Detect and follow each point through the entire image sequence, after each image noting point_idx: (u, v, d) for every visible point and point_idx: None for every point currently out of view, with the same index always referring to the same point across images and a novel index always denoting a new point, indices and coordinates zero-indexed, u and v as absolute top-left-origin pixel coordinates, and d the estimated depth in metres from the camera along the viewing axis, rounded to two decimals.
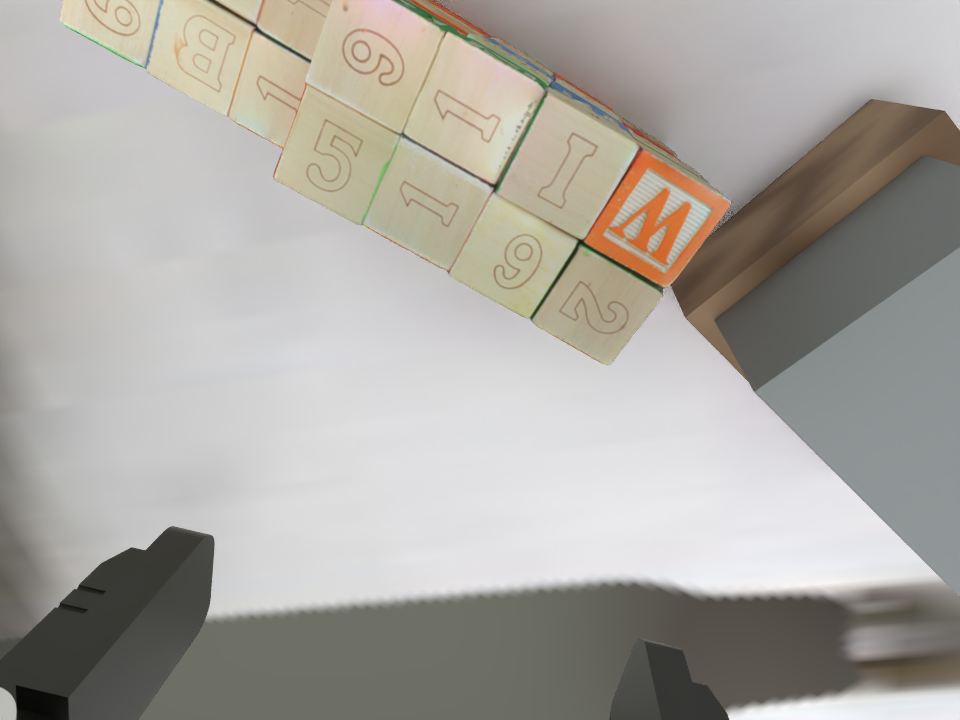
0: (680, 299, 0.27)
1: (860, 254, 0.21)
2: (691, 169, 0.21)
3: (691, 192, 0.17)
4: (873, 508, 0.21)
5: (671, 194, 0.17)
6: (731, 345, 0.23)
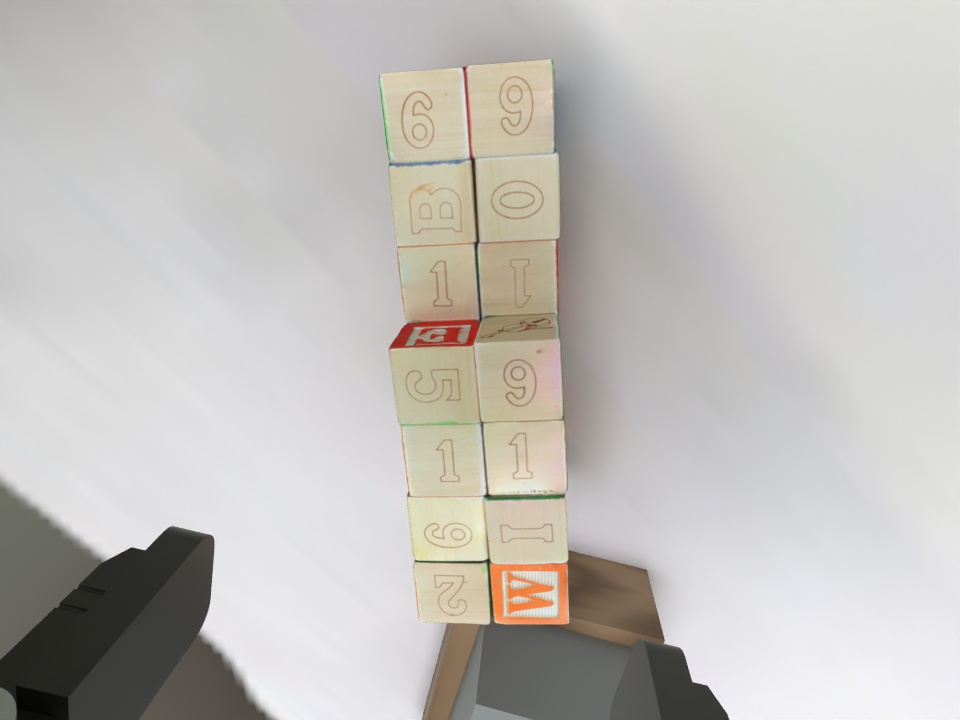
0: None
1: (584, 678, 0.30)
2: None
3: (559, 601, 0.25)
4: None
5: (552, 591, 0.24)
6: (484, 645, 0.30)
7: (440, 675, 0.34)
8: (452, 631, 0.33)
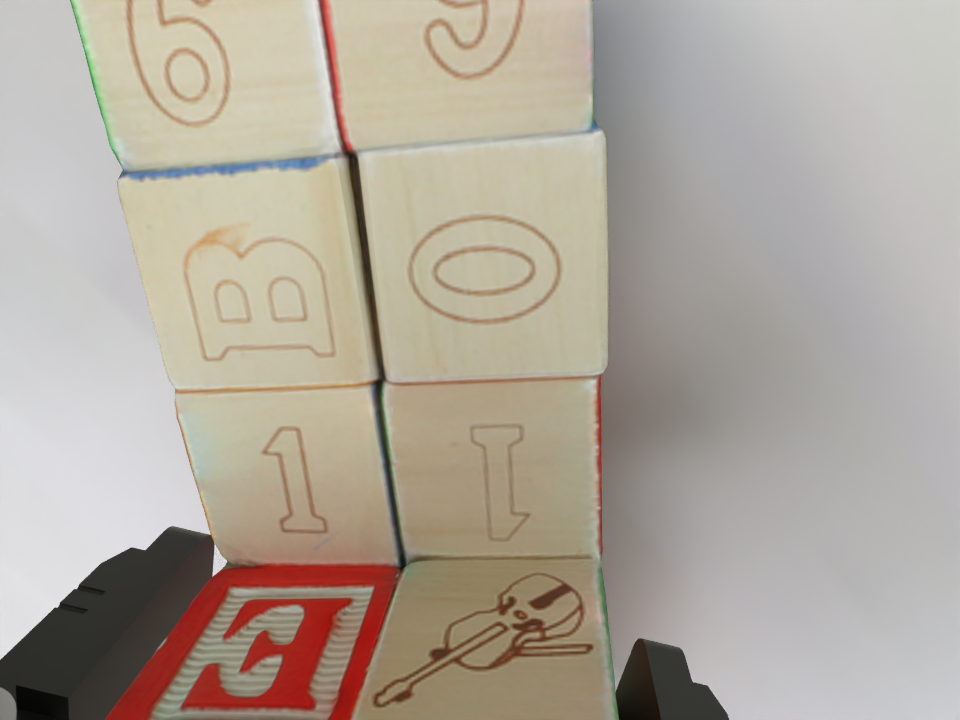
0: None
1: None
2: None
3: None
4: None
5: None
6: None
7: None
8: None
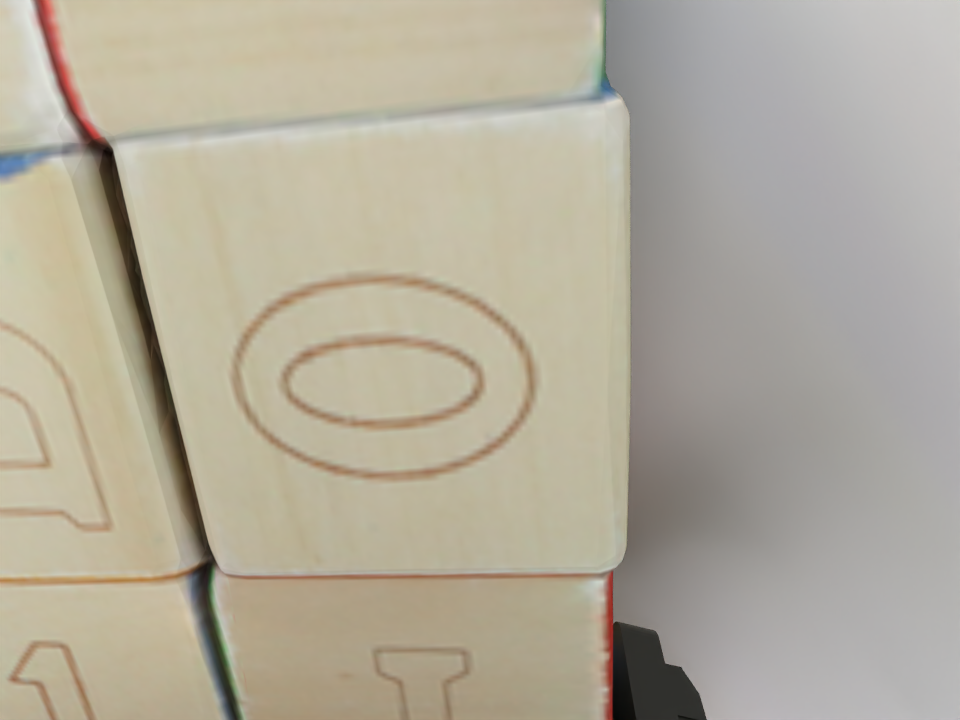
0: None
1: None
2: None
3: None
4: None
5: None
6: None
7: None
8: None
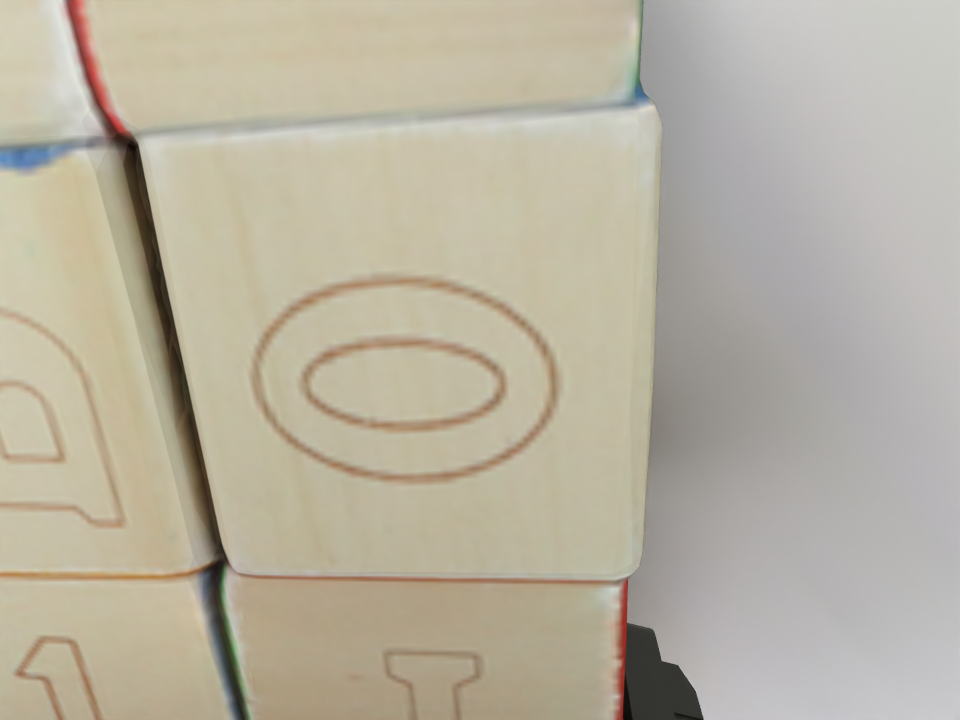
0: None
1: None
2: None
3: None
4: None
5: None
6: None
7: None
8: None
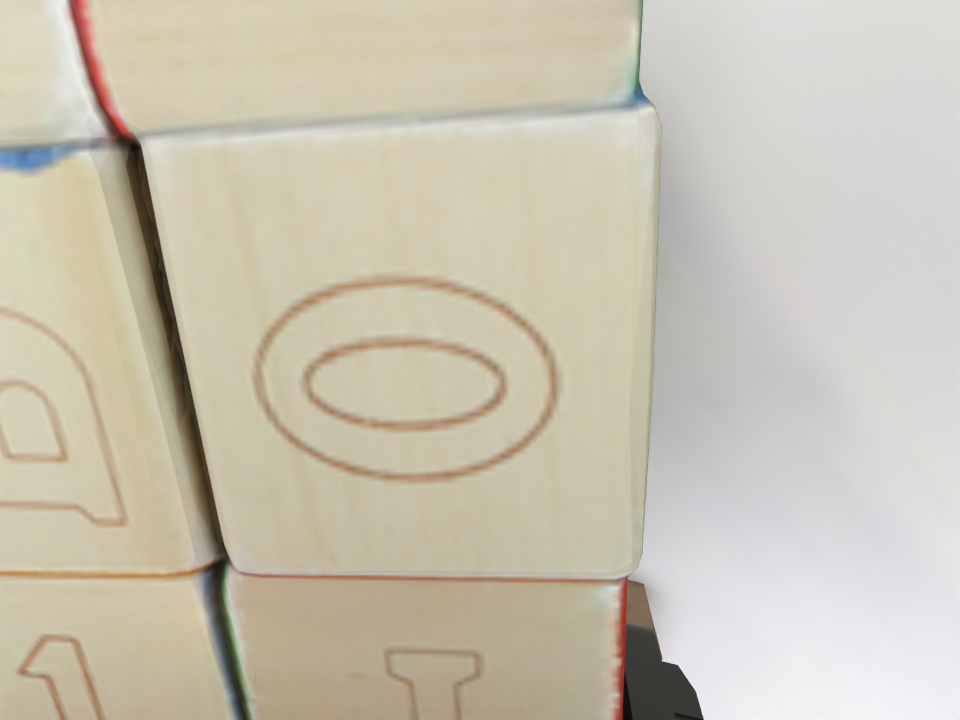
0: None
1: None
2: None
3: None
4: None
5: None
6: None
7: None
8: None
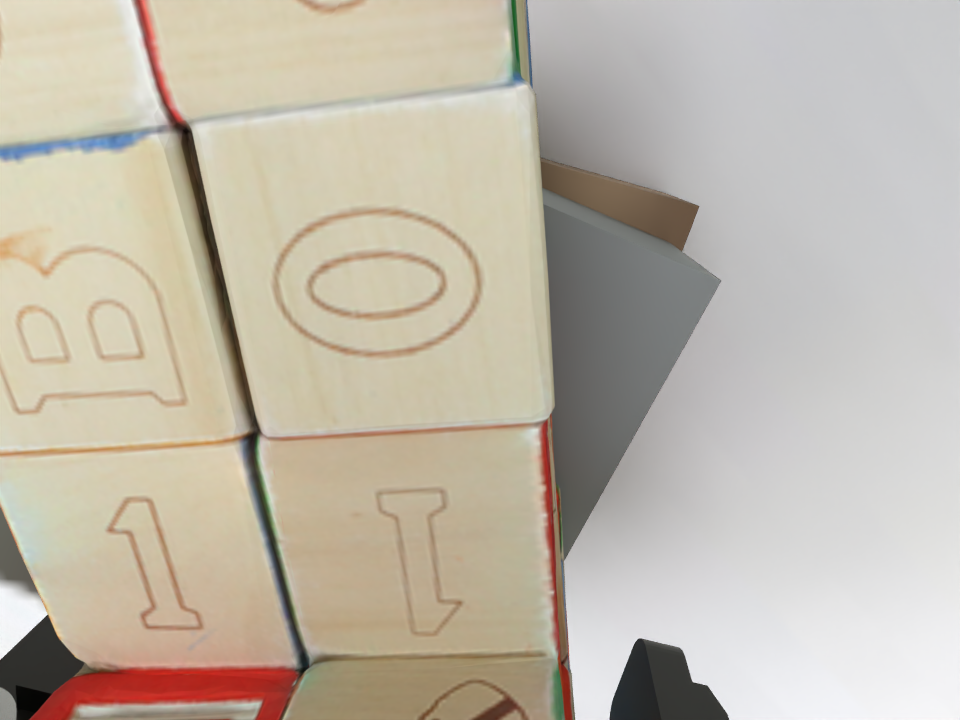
0: None
1: (567, 204, 0.17)
2: None
3: None
4: None
5: None
6: None
7: None
8: None
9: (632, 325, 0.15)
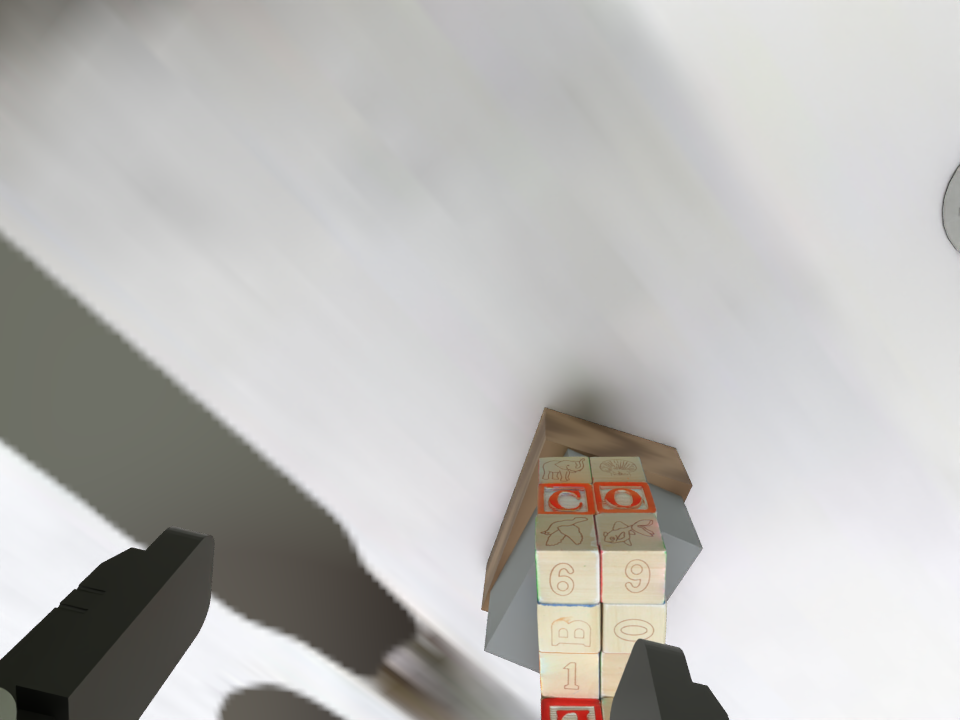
0: (547, 428, 0.45)
1: None
2: None
3: None
4: (529, 572, 0.40)
5: None
6: None
7: (520, 509, 0.46)
8: (533, 473, 0.45)
9: (668, 561, 0.39)
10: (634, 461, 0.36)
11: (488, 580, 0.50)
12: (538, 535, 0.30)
